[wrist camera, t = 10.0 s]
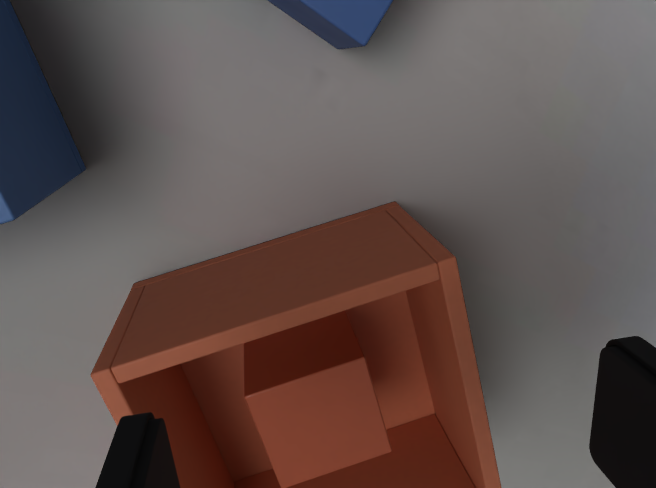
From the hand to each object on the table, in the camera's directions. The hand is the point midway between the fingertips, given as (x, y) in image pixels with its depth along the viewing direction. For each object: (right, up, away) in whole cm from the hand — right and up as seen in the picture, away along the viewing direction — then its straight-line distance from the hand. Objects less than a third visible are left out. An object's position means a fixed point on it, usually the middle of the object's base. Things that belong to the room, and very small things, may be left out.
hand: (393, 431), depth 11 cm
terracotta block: (-2, -1, +12) cm, 12 cm away
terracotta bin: (-2, -1, +12) cm, 13 cm away
